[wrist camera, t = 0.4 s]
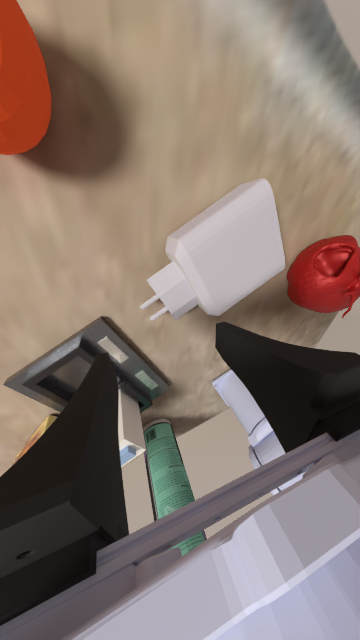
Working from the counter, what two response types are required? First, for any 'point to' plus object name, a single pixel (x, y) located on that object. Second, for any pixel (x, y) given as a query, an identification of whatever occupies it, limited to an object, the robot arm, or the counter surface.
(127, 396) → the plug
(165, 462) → the spray can
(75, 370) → the dark grey compartment tray
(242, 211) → the charger
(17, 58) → the clementine
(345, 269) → the pomegranate
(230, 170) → the counter surface
